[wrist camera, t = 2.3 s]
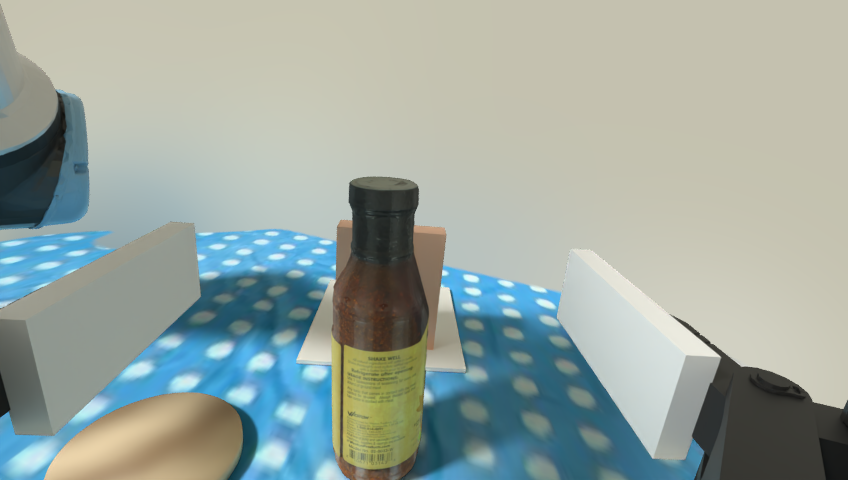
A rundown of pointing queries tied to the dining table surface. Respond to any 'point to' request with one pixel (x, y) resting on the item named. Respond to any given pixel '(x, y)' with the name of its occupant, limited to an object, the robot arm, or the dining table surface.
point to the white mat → (439, 359)
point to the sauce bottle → (379, 336)
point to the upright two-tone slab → (427, 257)
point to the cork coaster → (156, 442)
